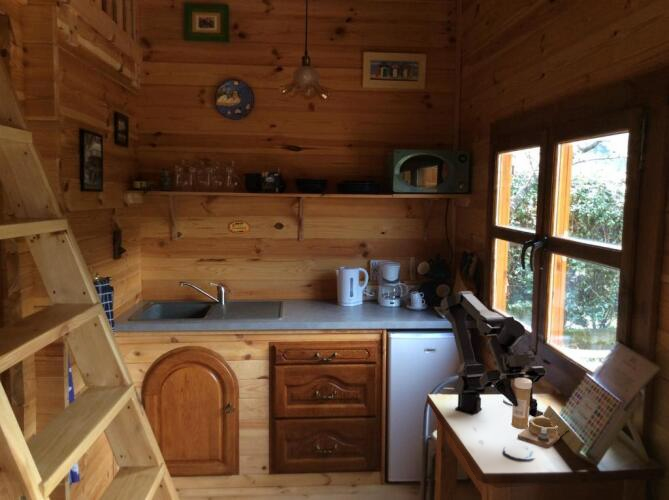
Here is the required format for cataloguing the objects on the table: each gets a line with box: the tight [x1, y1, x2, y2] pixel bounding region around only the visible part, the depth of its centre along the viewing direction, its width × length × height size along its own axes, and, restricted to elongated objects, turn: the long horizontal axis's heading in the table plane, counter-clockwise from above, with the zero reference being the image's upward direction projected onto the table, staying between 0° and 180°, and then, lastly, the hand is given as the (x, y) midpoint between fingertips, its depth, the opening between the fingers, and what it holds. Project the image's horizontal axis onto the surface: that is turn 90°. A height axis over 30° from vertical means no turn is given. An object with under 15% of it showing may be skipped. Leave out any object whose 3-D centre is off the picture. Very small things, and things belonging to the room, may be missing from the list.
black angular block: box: [529, 397, 544, 418], centre depth 183 cm, size 12×7×5 cm, turn 30°
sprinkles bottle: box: [510, 378, 533, 431], centre depth 154 cm, size 5×5×14 cm
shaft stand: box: [517, 416, 560, 449], centre depth 165 cm, size 9×16×4 cm, turn 138°
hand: (524, 405), depth 152 cm, fingers closed on sprinkles bottle, 4 cm apart
